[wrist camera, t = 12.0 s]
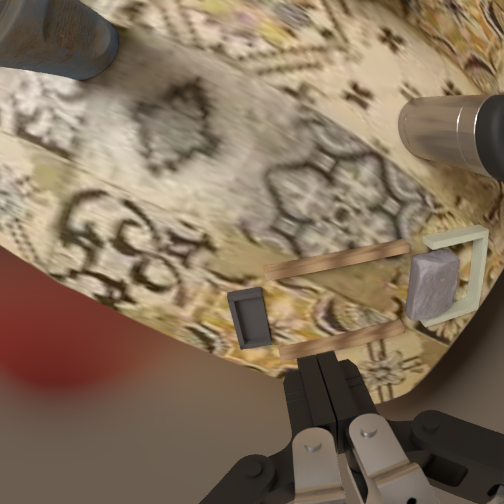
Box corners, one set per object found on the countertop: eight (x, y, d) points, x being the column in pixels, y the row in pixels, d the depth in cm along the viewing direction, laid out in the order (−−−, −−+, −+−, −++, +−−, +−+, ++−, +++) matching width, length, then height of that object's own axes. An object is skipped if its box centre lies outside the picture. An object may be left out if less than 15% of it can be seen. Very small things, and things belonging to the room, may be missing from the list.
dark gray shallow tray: (260, 286, 48) (261, 291, 47) (270, 338, 52) (271, 344, 50) (227, 292, 48) (227, 297, 47) (240, 344, 52) (240, 349, 51)
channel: (402, 239, 46) (409, 244, 44) (399, 324, 52) (404, 332, 50) (263, 266, 47) (264, 273, 45) (279, 352, 53) (280, 361, 51)
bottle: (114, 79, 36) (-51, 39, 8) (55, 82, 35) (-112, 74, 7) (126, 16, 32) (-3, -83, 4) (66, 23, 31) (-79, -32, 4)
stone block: (447, 242, 49) (407, 254, 47) (466, 252, 45) (426, 266, 43) (438, 299, 54) (399, 314, 52) (454, 311, 50) (415, 329, 48)
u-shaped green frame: (478, 224, 46) (488, 229, 43) (469, 301, 52) (477, 309, 49) (423, 236, 46) (432, 242, 43) (418, 318, 52) (425, 327, 49)
